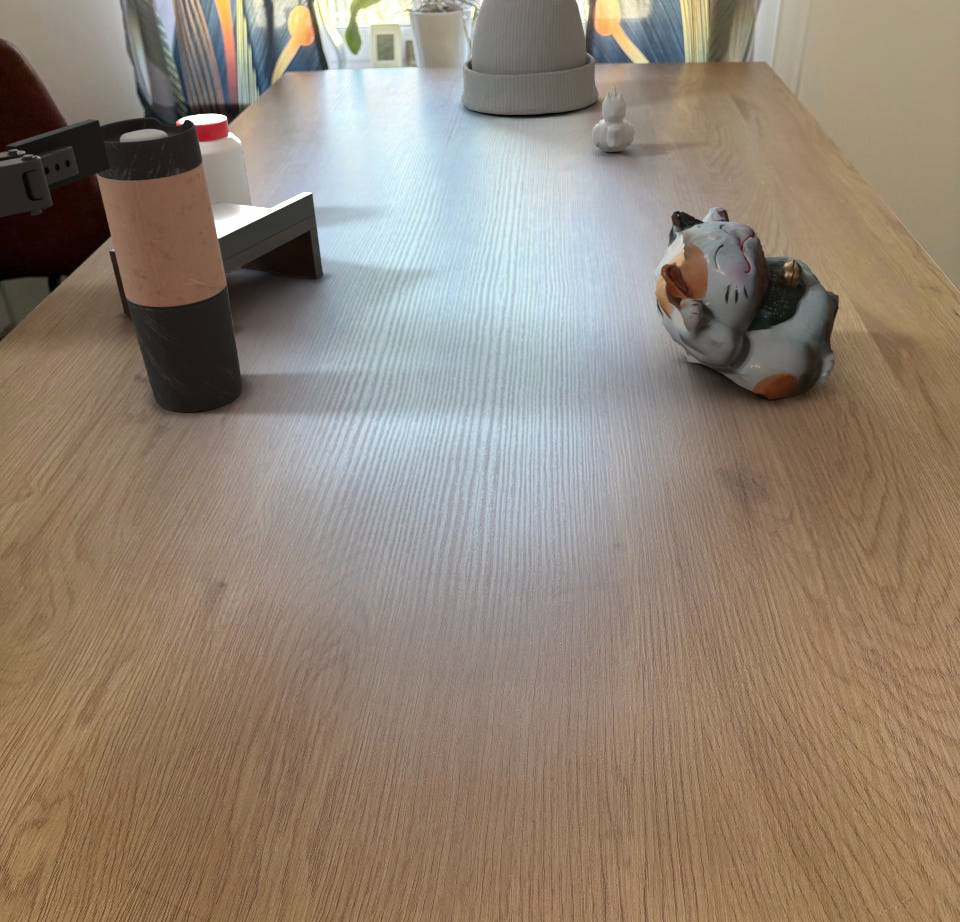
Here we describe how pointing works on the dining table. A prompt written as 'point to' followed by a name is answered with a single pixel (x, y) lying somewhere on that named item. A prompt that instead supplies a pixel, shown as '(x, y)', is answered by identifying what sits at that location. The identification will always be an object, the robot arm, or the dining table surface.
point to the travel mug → (170, 262)
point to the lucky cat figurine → (744, 307)
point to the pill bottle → (221, 159)
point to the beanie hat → (529, 59)
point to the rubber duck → (613, 125)
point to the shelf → (262, 239)
